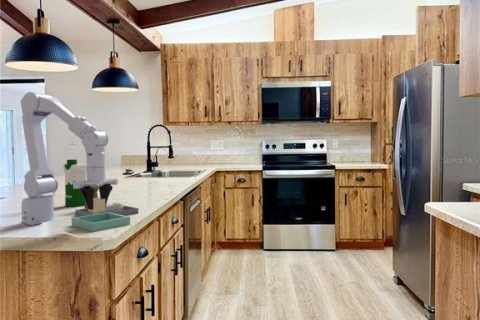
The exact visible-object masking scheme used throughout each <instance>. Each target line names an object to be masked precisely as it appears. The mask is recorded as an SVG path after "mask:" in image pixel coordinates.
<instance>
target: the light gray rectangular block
mask: <svg viewBox="0 0 480 320" xmlns="http://www.w3.org/2000/svg"><path fill="white" fill-rule="evenodd" d="M106 212H115V205H112V204H109V203H107V204H106V208H105V211H102V212H99V214H100V213H106Z"/></svg>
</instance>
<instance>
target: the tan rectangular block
mask: <svg viewBox="0 0 480 320" xmlns="http://www.w3.org/2000/svg"><path fill="white" fill-rule="evenodd" d="M88 211H89V212H93V213H96V212H102V211H105V199H102V198H100V197H98V198H94V199H93V210H90V209H88Z"/></svg>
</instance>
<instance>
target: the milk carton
mask: <svg viewBox="0 0 480 320" xmlns="http://www.w3.org/2000/svg"><path fill="white" fill-rule="evenodd" d="M62 166H63V167H62V168H63V172H64V185H65V186H64V188H65V191H64V192H65V193H64V194H65V198H64V202H65V203H64V206H65V207H71V208H78V207H79V208H80V207H85V198H84V196H83V194H82V193H81V191H80V188H78V189H76V188H73V182H80V181H87V164H86V163H78V159H66V164H65V163H64V164H62Z"/></svg>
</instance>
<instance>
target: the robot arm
mask: <svg viewBox="0 0 480 320" xmlns="http://www.w3.org/2000/svg"><path fill="white" fill-rule="evenodd" d="M20 105H21V111H22V112H21V113H22V114H21V122H22V127H23V134H24V140H25V146H26V152H27V157H28V165H29V170H28V171H27V172H26V173H25V174H24V176H23V177H24V183H23V191H24V192H25V194H26V195H27V196H28V197H24V198H23V199H22V201H21V221H20V222H21V223H23V224H26V225H28V226H33V225H39V224H42V223H47V222H53V221H59V219H58V218H55V210H54V207H55V205H54V204H55V203H54V195H56V192H57V191H58V189H59V181H58V180H57V178H56V176H55V175H56V174H55V172H54V170H52V169H51V168H49V166H48V160H47V155H46V149H45V141H44V137H43V130H42V125H41V124H42V122H43V121H44V120H45V119H47V118H48V117H49V116H50V115H51V114H53V115H55V117H58V118H59V119H61V120H62V121H63V122H64V123H65V124H67V127H68V130H69V131H70V132H71V133H73V135H75V136H76V137H78V138H79V139H80V140H81V144H82V146H83V147H84V151H85V154H86V155H85V156H86V163H85V164H87V181H80V182H73V188H76V189H78V188H80V191H81V193H82V194H83V196H84V198H85V201H86V204H87V207H88V209H90V210H93V195H94V189H92V188H91V187H95V186H98V188H99V189H98V191H99V198H102V199H105V208H106V205H107V204H108V200H109V197H110V194H111V192H112V190H113V185H115V186H116V185H119V184H118V178H106V148H105V147H106V146H107V145H108V143H109V136H108V134H107V133H106V132H105V130H102V129H99V130H98V129H97V127H96V126H95V125H92V124H91V123H89V122H88V121H87V118H86V117H84V116H75V114H73V113H72V111H70V110H69V109H68V108H67V107H65V106H64V105H63V104H62V103H61V102H60V100H59V99H58V98H56V97H55V96H54V95H52V94H43V93H38V92H37V93H36V92H32V91H29V92H26V93H25V94H24V95H23V97H22V98H21V100H20ZM92 184H97V185H92Z"/></svg>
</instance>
